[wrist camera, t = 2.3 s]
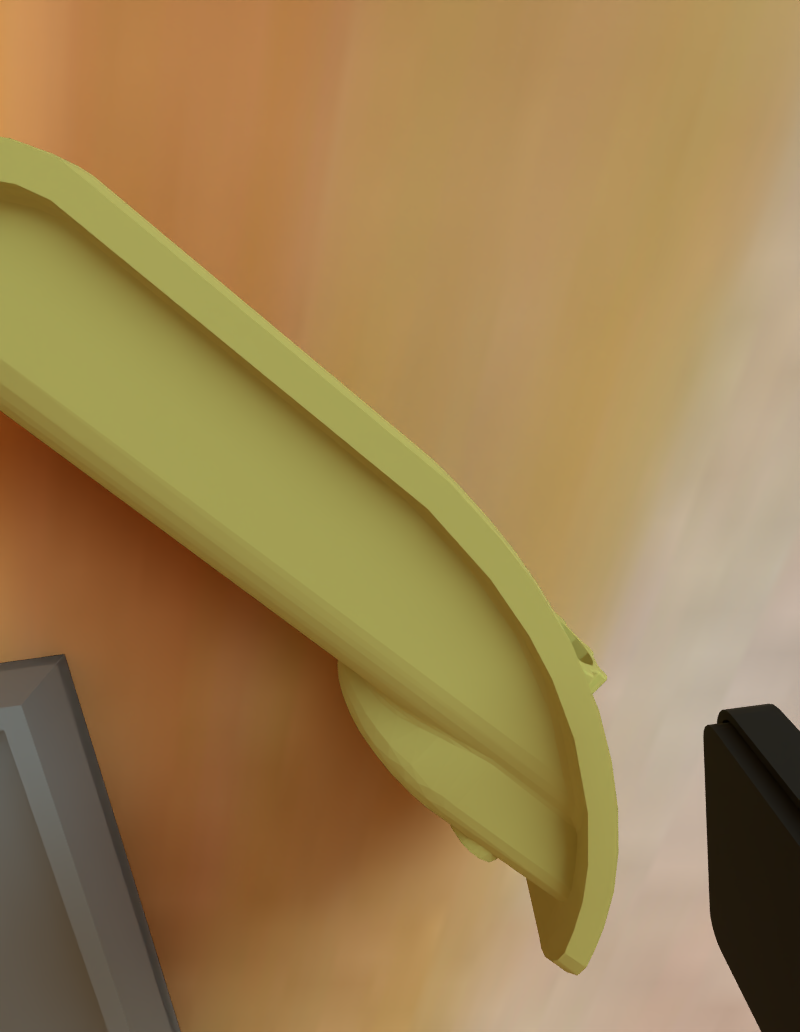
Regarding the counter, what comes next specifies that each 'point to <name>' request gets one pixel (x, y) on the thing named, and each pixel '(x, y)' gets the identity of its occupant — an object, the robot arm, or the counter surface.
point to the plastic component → (314, 529)
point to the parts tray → (66, 874)
